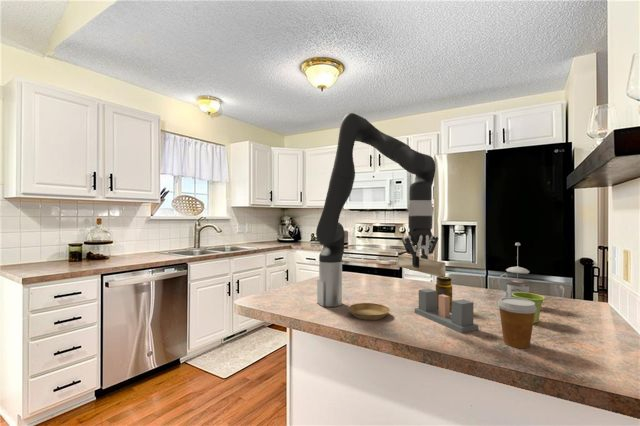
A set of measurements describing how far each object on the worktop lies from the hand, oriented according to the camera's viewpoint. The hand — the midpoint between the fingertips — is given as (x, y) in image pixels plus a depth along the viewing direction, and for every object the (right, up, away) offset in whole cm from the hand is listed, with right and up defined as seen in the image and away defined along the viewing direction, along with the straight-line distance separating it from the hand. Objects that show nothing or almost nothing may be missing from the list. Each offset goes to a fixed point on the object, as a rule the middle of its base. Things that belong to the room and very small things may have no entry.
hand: (419, 266), depth 107 cm
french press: (+45, -19, +23) cm, 54 cm away
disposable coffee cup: (+22, -19, -15) cm, 33 cm away
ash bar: (0, -1, 0) cm, 1 cm away
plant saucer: (-15, -19, +10) cm, 27 cm away
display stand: (+9, -19, +4) cm, 22 cm away
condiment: (+14, -19, +18) cm, 30 cm away
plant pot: (+38, -19, +4) cm, 43 cm away
